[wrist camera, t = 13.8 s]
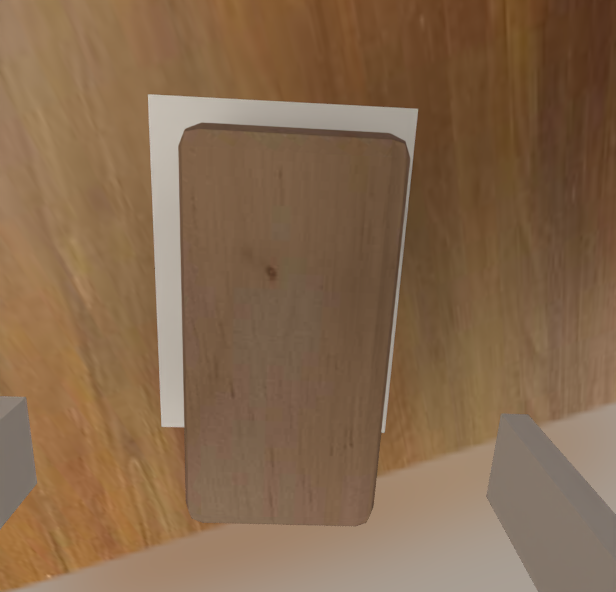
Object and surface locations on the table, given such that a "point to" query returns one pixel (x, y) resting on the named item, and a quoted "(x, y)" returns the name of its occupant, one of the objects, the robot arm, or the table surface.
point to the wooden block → (287, 318)
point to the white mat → (166, 210)
